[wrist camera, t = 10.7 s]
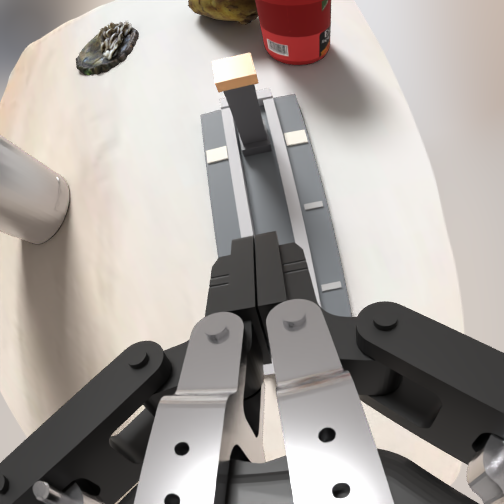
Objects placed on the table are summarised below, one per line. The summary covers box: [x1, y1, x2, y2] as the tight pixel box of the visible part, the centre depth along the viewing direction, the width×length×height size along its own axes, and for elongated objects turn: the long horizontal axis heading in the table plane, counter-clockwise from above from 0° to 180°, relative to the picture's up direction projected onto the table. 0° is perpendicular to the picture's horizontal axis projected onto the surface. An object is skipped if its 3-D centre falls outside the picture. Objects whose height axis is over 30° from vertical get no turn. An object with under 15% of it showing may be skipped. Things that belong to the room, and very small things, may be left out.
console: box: [201, 88, 352, 375], centre depth 28 cm, size 10×26×2 cm, turn 9°
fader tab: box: [212, 53, 272, 157], centre depth 24 cm, size 3×3×10 cm
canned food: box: [255, 0, 331, 65], centre depth 28 cm, size 8×8×11 cm
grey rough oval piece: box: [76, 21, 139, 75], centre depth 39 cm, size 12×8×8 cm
